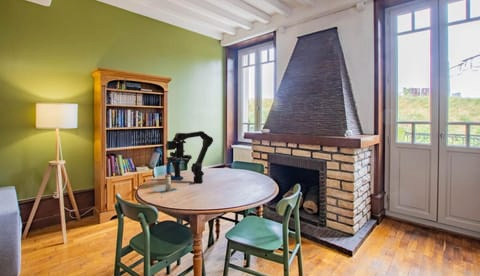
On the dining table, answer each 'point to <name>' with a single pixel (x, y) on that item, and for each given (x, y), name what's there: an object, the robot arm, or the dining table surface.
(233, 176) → the dining table surface
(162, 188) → the board
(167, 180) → the birch peg
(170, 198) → the dining table surface
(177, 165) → the handheld scanner
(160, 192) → the strip
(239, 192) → the dining table surface
